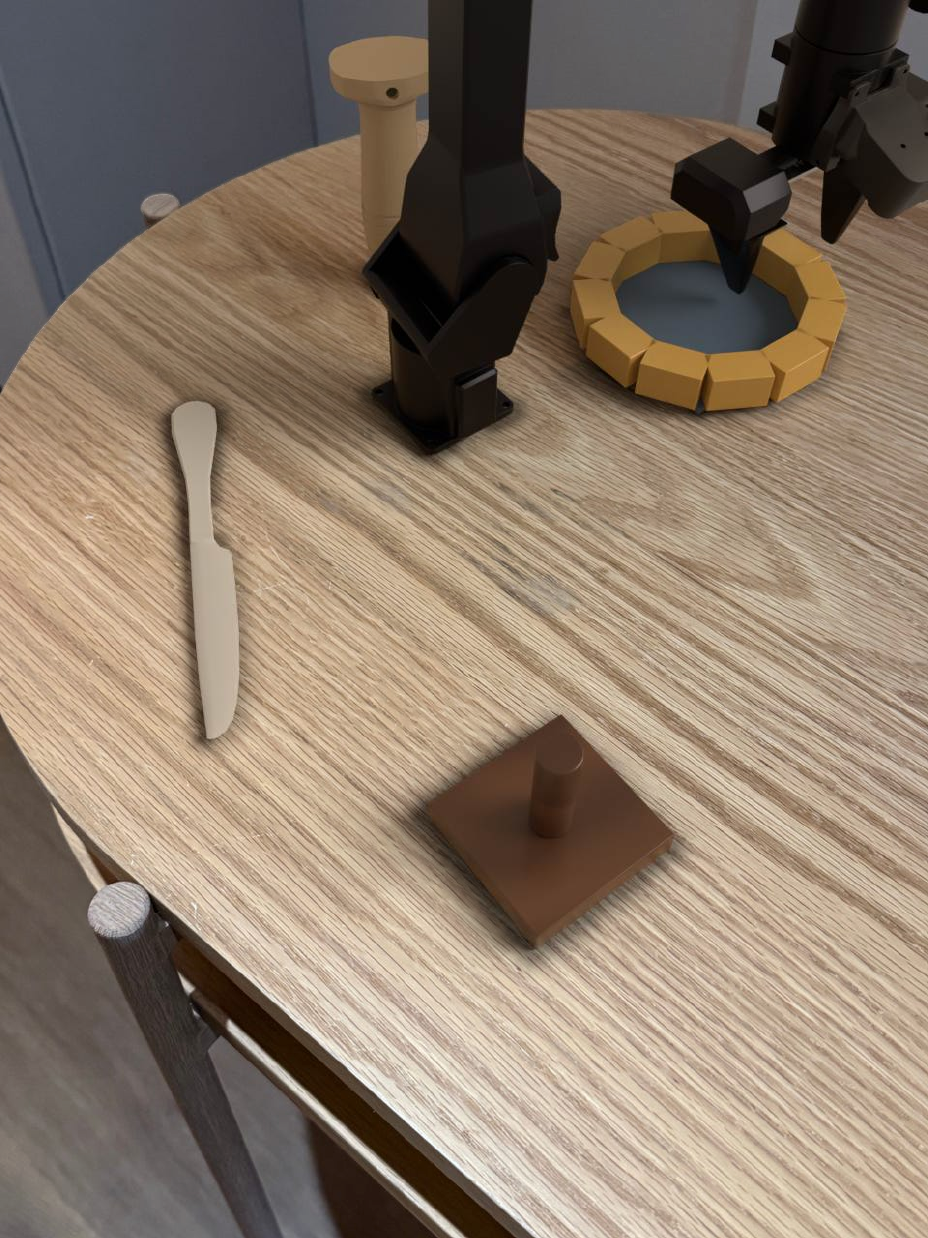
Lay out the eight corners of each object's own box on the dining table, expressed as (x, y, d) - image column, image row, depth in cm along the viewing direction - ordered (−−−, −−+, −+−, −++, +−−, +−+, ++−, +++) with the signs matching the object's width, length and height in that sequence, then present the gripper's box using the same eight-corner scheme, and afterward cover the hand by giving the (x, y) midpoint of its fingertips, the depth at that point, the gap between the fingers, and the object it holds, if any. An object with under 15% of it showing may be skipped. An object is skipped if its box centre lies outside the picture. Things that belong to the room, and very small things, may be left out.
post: (428, 817, 54) (424, 735, 48) (559, 729, 57) (571, 641, 51) (535, 950, 50) (546, 880, 44) (670, 848, 53) (697, 769, 47)
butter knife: (218, 396, 70) (169, 402, 69) (247, 731, 56) (186, 740, 56) (219, 401, 70) (171, 407, 70) (248, 735, 56) (187, 744, 56)
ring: (520, 302, 75) (522, 271, 73) (705, 211, 81) (711, 180, 79) (699, 449, 67) (706, 419, 65) (889, 336, 73) (900, 305, 71)
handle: (449, 292, 77) (447, 73, 65) (354, 304, 76) (334, 85, 64) (436, 248, 79) (432, 31, 67) (344, 259, 79) (323, 42, 67)
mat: (570, 312, 75) (571, 306, 75) (702, 245, 80) (703, 239, 79) (697, 414, 70) (699, 408, 69) (832, 336, 74) (834, 330, 74)
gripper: (842, 151, 57) (772, 389, 69) (1072, 36, 63) (970, 273, 76) (685, 57, 62) (647, 295, 74) (913, -39, 68) (842, 194, 81)
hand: (782, 265), depth 76 cm, fingers open, 8 cm apart
